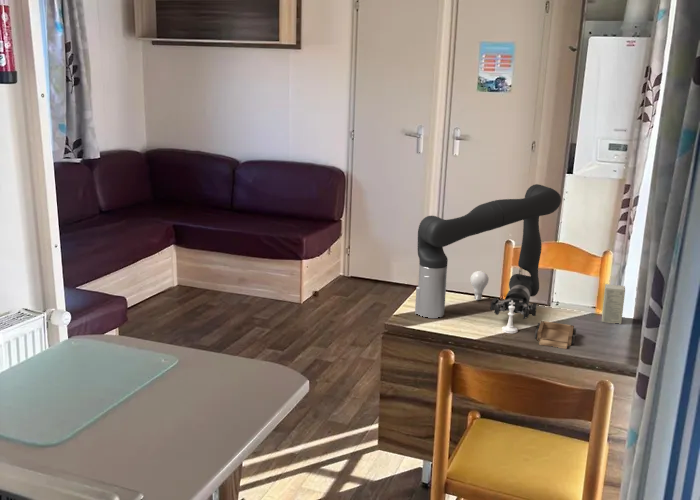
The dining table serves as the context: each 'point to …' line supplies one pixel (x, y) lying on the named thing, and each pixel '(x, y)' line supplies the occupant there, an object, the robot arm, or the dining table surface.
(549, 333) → the truck bed
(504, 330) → the chess piece
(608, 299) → the skincare box
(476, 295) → the lightbulb
